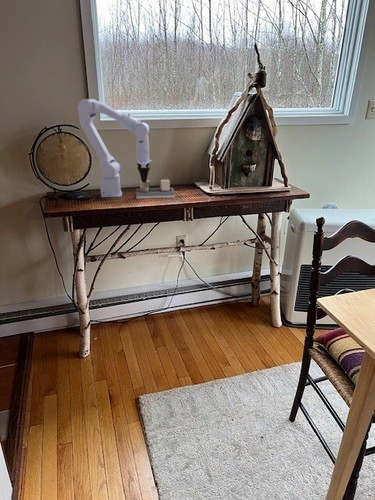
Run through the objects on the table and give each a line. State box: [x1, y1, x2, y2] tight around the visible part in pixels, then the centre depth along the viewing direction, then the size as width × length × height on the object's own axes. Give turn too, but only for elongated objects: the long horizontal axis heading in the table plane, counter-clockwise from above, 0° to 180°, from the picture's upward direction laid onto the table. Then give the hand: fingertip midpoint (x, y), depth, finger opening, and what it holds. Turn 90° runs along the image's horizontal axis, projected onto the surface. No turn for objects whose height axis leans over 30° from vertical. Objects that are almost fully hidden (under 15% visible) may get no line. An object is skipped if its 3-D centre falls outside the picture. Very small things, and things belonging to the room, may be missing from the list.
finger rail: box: [135, 179, 175, 200], centre depth 173 cm, size 18×9×7 cm, turn 98°
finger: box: [139, 179, 151, 192], centre depth 172 cm, size 4×4×6 cm
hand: (143, 180), depth 171 cm, fingers open, 7 cm apart
